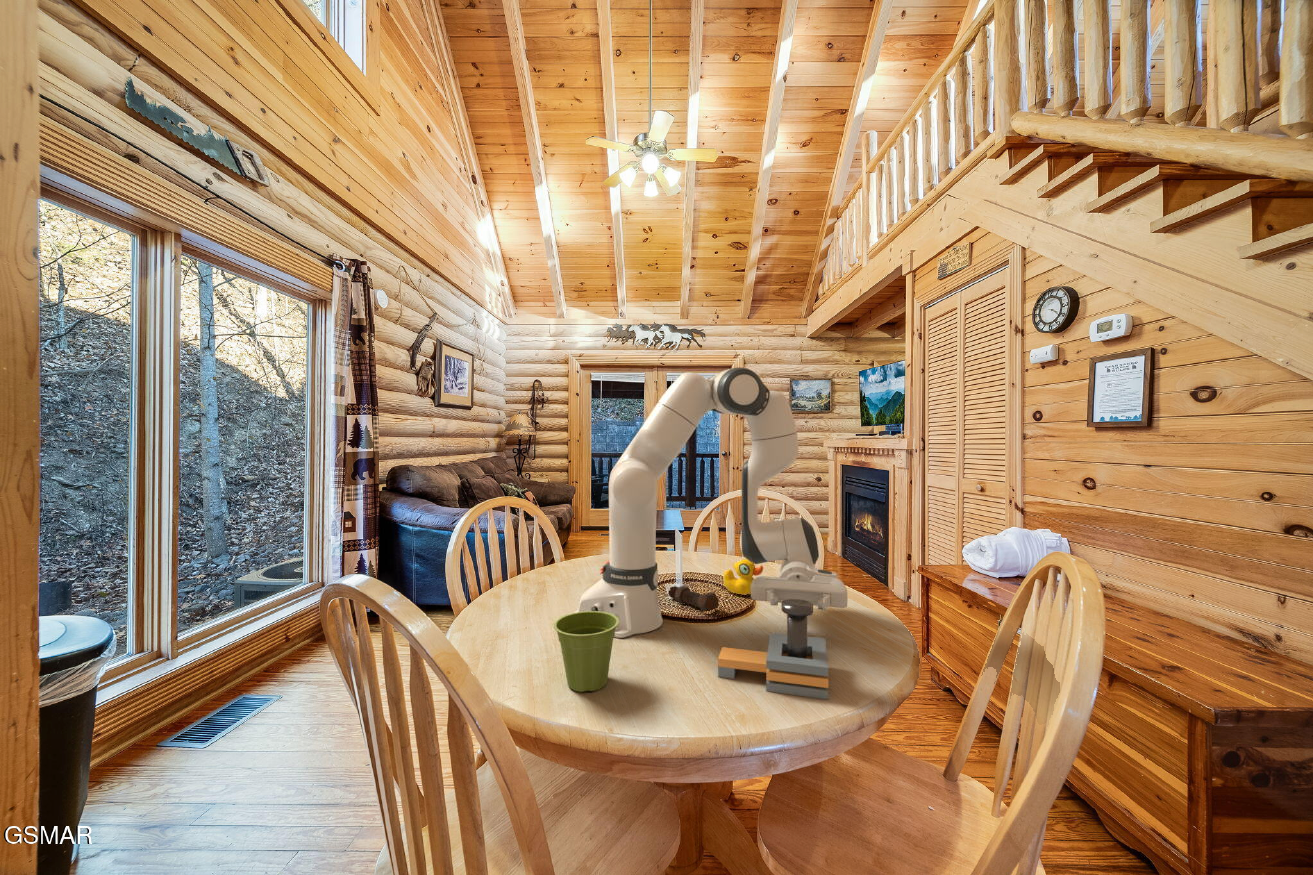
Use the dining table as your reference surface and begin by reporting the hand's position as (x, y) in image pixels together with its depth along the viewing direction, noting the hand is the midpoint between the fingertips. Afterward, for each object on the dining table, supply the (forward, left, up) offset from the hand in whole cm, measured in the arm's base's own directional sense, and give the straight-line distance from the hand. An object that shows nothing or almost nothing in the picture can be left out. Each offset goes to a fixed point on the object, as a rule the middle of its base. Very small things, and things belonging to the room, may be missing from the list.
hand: (797, 603), depth 103 cm
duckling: (-15, +34, -11) cm, 38 cm away
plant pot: (-37, -22, -11) cm, 45 cm away
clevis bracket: (-5, -10, -10) cm, 15 cm away
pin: (0, -11, -10) cm, 15 cm away
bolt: (-27, +22, -11) cm, 36 cm away
